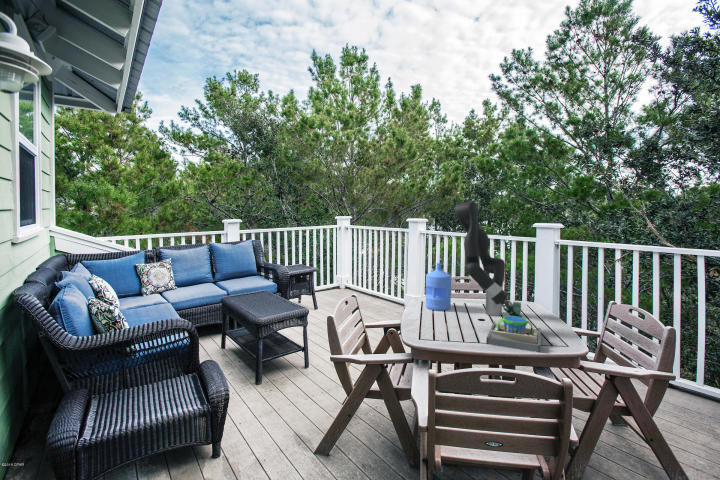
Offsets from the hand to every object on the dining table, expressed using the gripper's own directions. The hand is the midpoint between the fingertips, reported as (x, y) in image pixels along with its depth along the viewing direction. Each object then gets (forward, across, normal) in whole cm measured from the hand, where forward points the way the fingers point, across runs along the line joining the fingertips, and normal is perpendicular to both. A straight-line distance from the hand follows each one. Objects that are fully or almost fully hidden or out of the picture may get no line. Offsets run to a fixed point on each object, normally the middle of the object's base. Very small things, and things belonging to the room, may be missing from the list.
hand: (520, 319), depth 183 cm
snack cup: (+3, -13, +6) cm, 15 cm away
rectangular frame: (+3, -11, +6) cm, 13 cm away
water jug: (-30, +27, +39) cm, 56 cm away
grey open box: (+3, -10, +6) cm, 12 cm away
